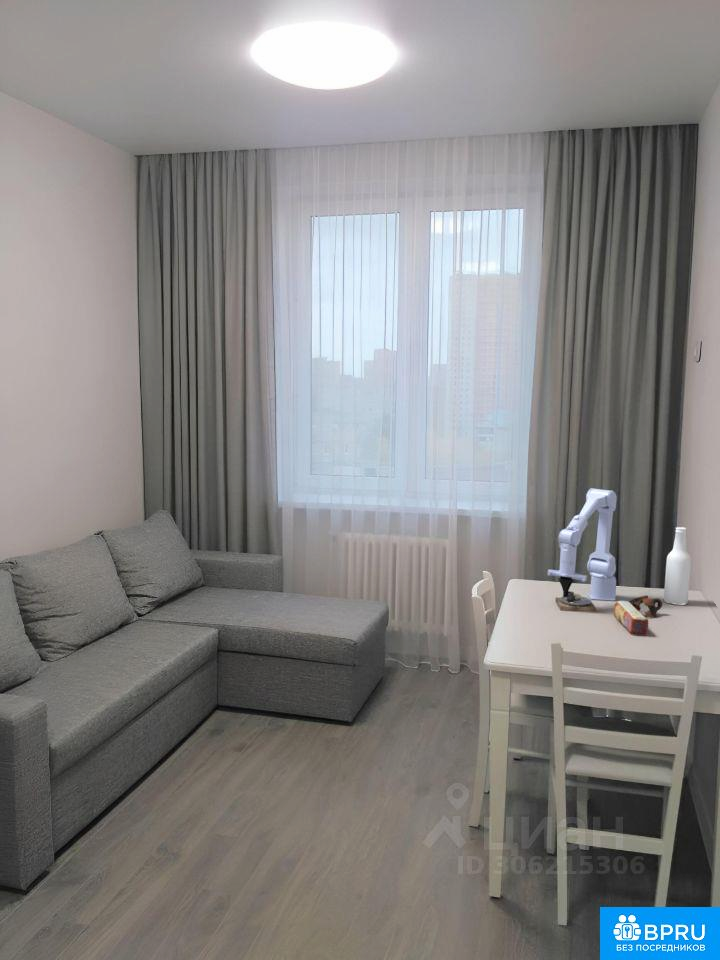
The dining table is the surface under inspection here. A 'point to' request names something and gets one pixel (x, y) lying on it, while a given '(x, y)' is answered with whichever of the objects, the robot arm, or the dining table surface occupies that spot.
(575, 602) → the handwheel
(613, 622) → the dining table surface
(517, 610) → the dining table surface
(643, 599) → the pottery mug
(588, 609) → the walnut base
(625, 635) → the dining table surface
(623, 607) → the snack package
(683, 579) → the alcohol
